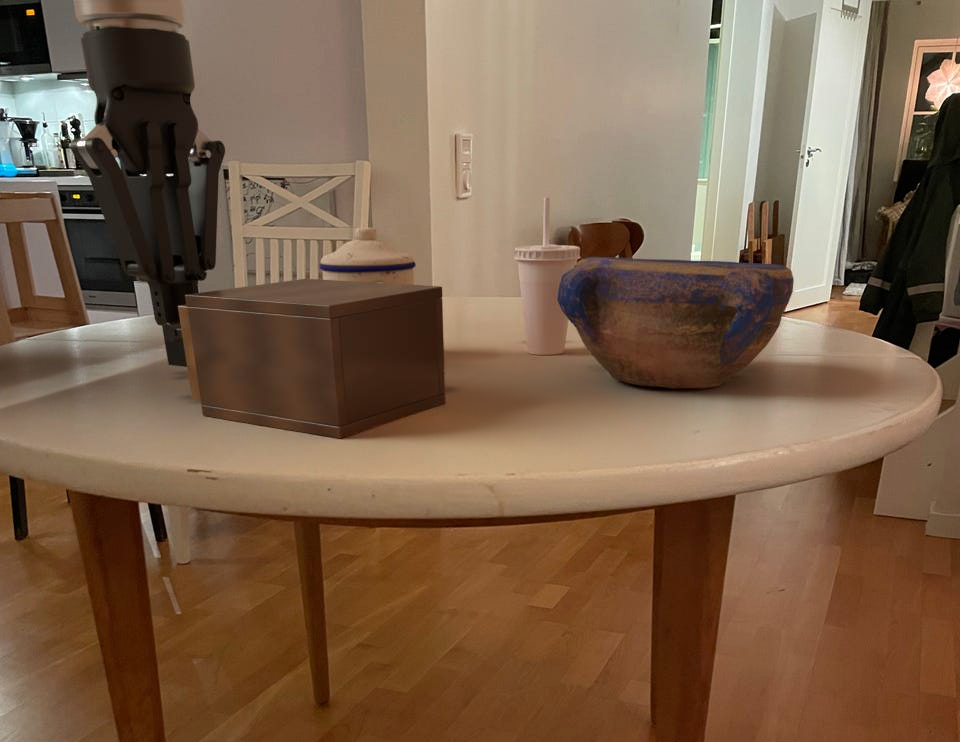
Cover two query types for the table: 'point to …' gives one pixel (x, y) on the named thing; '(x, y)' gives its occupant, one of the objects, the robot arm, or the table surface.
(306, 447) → the table surface
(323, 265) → the teacup with lid
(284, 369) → the cabinet
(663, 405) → the table surface
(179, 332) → the drawer
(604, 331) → the bowl
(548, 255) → the smoothie
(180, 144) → the robot arm
